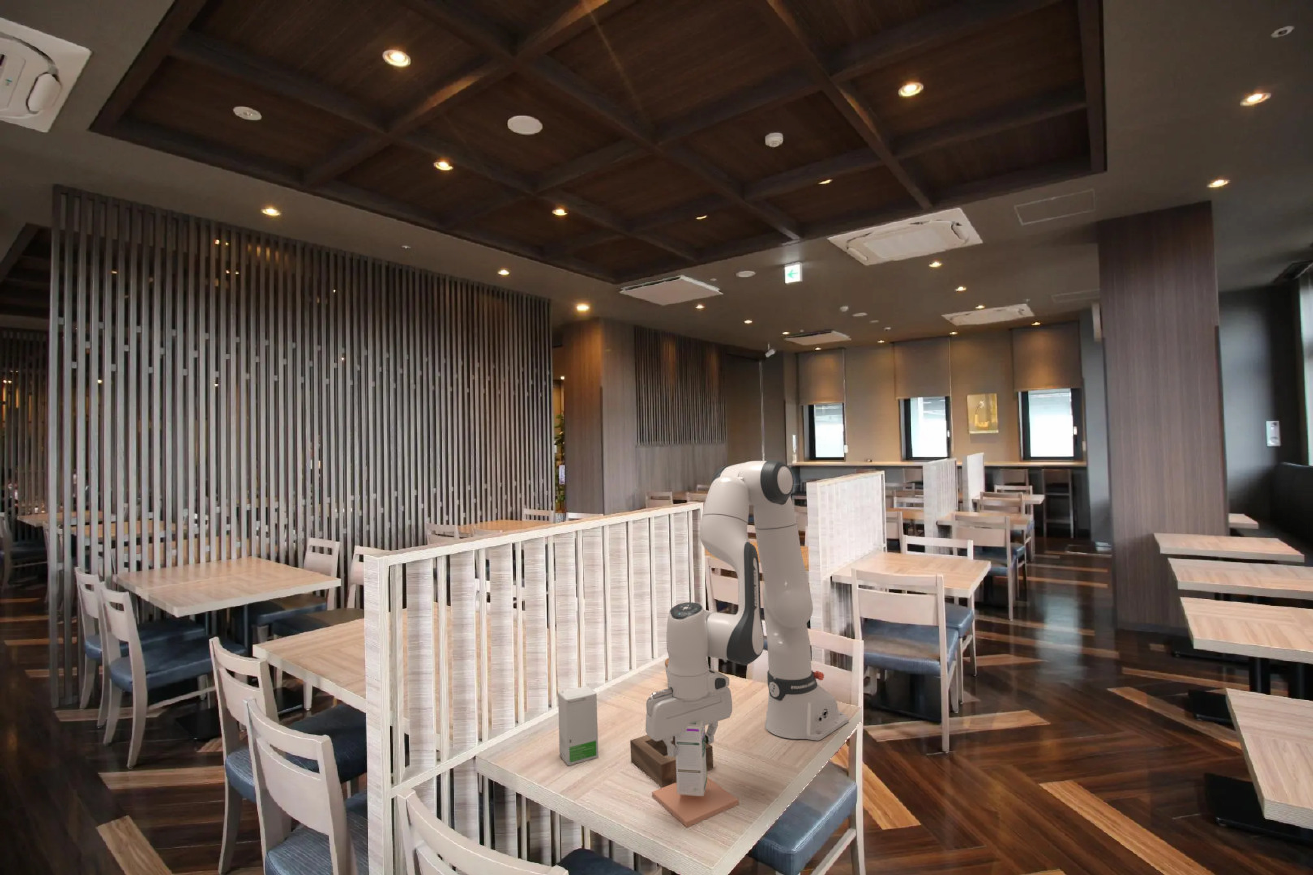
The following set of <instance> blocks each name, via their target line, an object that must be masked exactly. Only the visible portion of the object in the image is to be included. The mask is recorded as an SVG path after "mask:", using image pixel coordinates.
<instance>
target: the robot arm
mask: <svg viewBox="0 0 1313 875" xmlns="http://www.w3.org/2000/svg"><path fill="white" fill-rule="evenodd" d="M794 485H795V484H794V474H793V472H792V470H791V469H790V467H789V466H788V465H787V464H786V463H785V462H784V461H783V460H774V459H768V460H751V461H746V462H742V463H737V464H732V465H730V464H728V465H725V466H722V467H720V468H718V469H717V470H715V472H714V474H713V476H712V479H711V484H710V487H709V489H708V492H707V495H706V498H705V502H704V504H703V509H702V513H701V519H700V526H699V539H700V542H701V543H702V546H703V547H704V549H705V550H706V551H707V552H708V553H709V554H711V556H713V557H714V558H716V559H718V560H721V561H722V562H724V563H726V564H728V565H729V566H731V567H732V568H733V569H734V571H735V573H736V575H737V591H738V592H737V594H738V595H737V597H738V598H737V599H738V600H737V601H738V602H737V603H738V606H737V607H738V610H737V612H736V614H731V613H724V612H717V611H713V610H706V609H704V607H703V606H702V605H701V604H700V603H698V602H691V601H689V602H682V603H678V604H675V605H674V606H673V607H671V608H670V610H669V612H668V615H667V622H666V635H665V637H666V638H665V639H666V643H665V644H666V653H667V655H668V658H669V663H668V667H667V672H668V678H667V688H665V689H662V690H659V691H654V692H652V693H651V695H649V697H648V698H647V700H646V702H645V703H646V706H645V710H646V716H645V733H646V735H648V736H649V737H650V738H652V739H653V740H654V741H660V740H663V741H664V743H665V744H666V746H667V753H668V755H669V756H670V757H674V756H677V755H678V752H677V751H678V747H676V746H675V745H674V744H672V743H671V741H673V736H675V735H678V734H681V733H684V732H686V731H687V726H688V724H691V723H695V722H700V721H702V723H703V726H708V727H707V730H706V731H705V742H706V743H707V744H710V745H711V744H713V743H714V742H715V737H714V736H715V733H716V731H717V728H718V726H719V722H720V721H723V720H727V719H729V718H730V717H731V715H732V713H733V699H732V698H733V697H732V692H731V689H730V688H729V686H730V678H729V677H728V676H727V675H725V674H723V673H722V672H720V671H717V670H715V669H712V668H710V666H709V663H708V657H710V658H714V659H720V660H725V661H729V662H731V663H735V664H739V665H742V666H747V665H750V664H752V663H753V662H755V661H756V660H757V659H758V658H759V657H760V656H761V655H762V654H763V652H764V647H765V646H764V645H765V634H766V642H767V660H768V661H767V663H768V665H767V666H768V670H767V671H766V672H767V674H766V675H767V676H766V678H767V681H766V682H767V687H768V699H767V700H768V701H767V710H766V718H765V722H764V727H765V729H766V730H767V731H768V732H769V733H771V734H772V735H775V736H778V737H780V738H786V739H791V740H810V741H821V740H822V739H824V738H825V737H827V736H828V735H830V734H831V733H834V732H835V731H836V730H838V729H839V728H841V727H842V726H844V725H845V724H847V723H849V719H848V716H847V715H846V714H845V713H844V712H843V711H841V710H839V708H838V702H837V700H836V697H835V696H834V695H833V694H832V693H831V692H829V691H827V690H826V689H825V688H823V687H822V686H821V685H819V684H818V681H823V680H824V678H825V674H824V672H820V671H818V670H815V671H814V670H812V654H811V641H810V635H809V630H808V624H807V623H808V622H809V621H810V620H811V618H812V615H813V610H814V606H813V605H814V603H813V599H812V594H811V588H810V585H809V580H808V574H807V570H806V566H805V563H804V562H805V561H804V558H803V554H802V549H801V548H802V547H801V543H800V536H799V528H798V523H797V516H796V515H797V514H796V511H795V508H794V503H793V500H792V497H791V494H792V492H793V489H794ZM750 506H753V523H754V529H755V530H754V531H755V537H756V538H755V539H756V544H757V548H756V547H755V545H753V544H752V543H751V542H750V540H749V539H750V538H749V535H748V524H749V514H750V513H749V512H750ZM757 550H758V551H757ZM760 566H761V571H762V577H763V585H762V586H763V587H762V602H761V579H760V578H761V577H760V576H761V575H760ZM761 603H762V604H763V613H764V614H763V616H764V624H765V632H766V633H765V634H764V626H763V619H762V605H761ZM817 680H818V681H817ZM668 755H667V756H668Z"/></svg>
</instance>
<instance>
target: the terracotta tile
mask: <svg viewBox="0 0 1313 875" xmlns="http://www.w3.org/2000/svg"><path fill="white" fill-rule="evenodd" d="M651 797H652V798H653V799H654V800H656V801H657V802H658V804H659V805H661V806H662V807H663V808H664V809H666V810H667V811H668V812H669V813H670V814H671V815H672V816H674V818H676V819H677V820H678V821H679V822H680V823H681V824H682V825H683V826H685V828H688V827H690V826H692V825H695V824H697V823H700V822H702V821H704V820H706V819H709V818H711V817H713V816H716V815H718V814H720V813H723V812H724V811H727V810H729V809H731V808H733V807H736V806H738V805H739V798H737V797H735V796H734V795H733V794H731V793H730V792H729V791H728V790H726V789H724V788H723V787H722V786H721V785H719V784H718V783H716V781H713V780H712V779H711V778H709V776H707V784H706V789H705V792H704V796H690V795H682V794H678V793H677V782H676V783H673V784H671V785H668V786H666V787H663V788H662V787H660V788H659V789H655V790H653V791H652V792H651Z"/></svg>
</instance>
